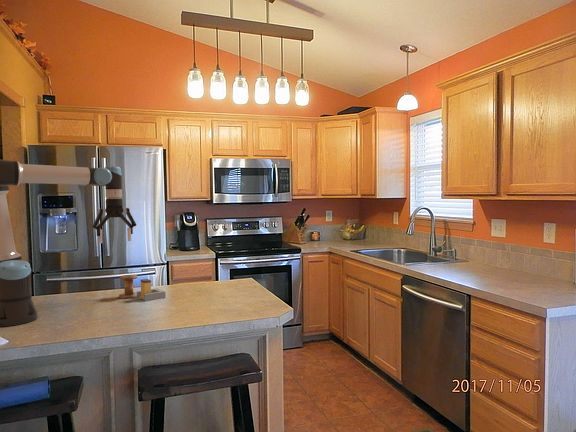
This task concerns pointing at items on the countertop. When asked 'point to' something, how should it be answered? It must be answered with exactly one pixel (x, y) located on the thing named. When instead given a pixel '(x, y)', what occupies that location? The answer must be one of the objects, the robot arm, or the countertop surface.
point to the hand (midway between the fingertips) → (115, 242)
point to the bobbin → (128, 287)
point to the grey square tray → (152, 295)
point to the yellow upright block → (145, 287)
